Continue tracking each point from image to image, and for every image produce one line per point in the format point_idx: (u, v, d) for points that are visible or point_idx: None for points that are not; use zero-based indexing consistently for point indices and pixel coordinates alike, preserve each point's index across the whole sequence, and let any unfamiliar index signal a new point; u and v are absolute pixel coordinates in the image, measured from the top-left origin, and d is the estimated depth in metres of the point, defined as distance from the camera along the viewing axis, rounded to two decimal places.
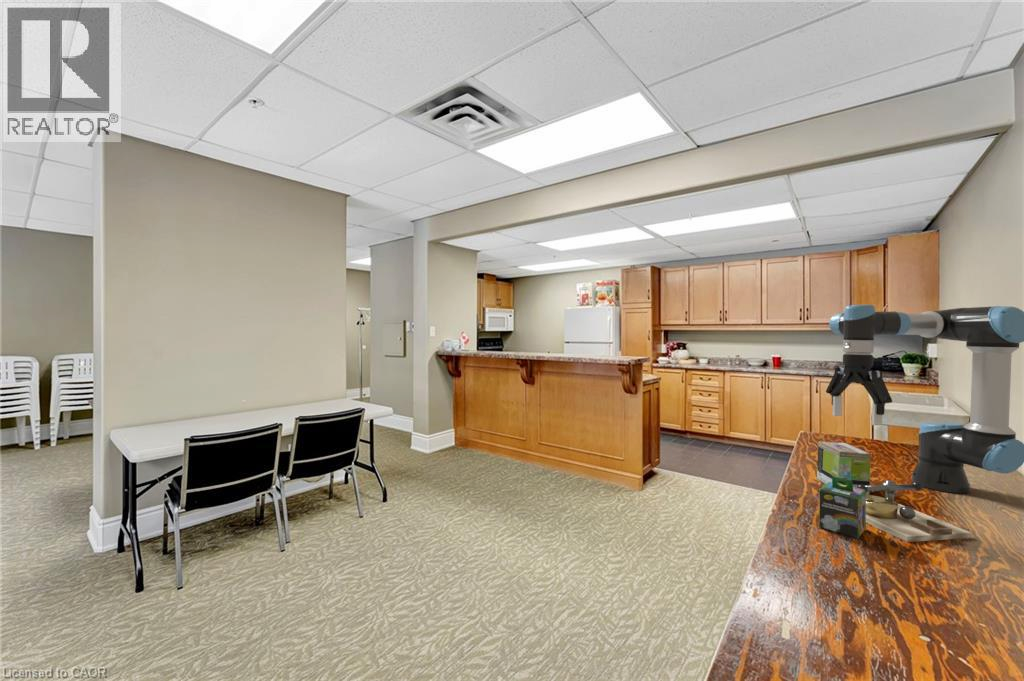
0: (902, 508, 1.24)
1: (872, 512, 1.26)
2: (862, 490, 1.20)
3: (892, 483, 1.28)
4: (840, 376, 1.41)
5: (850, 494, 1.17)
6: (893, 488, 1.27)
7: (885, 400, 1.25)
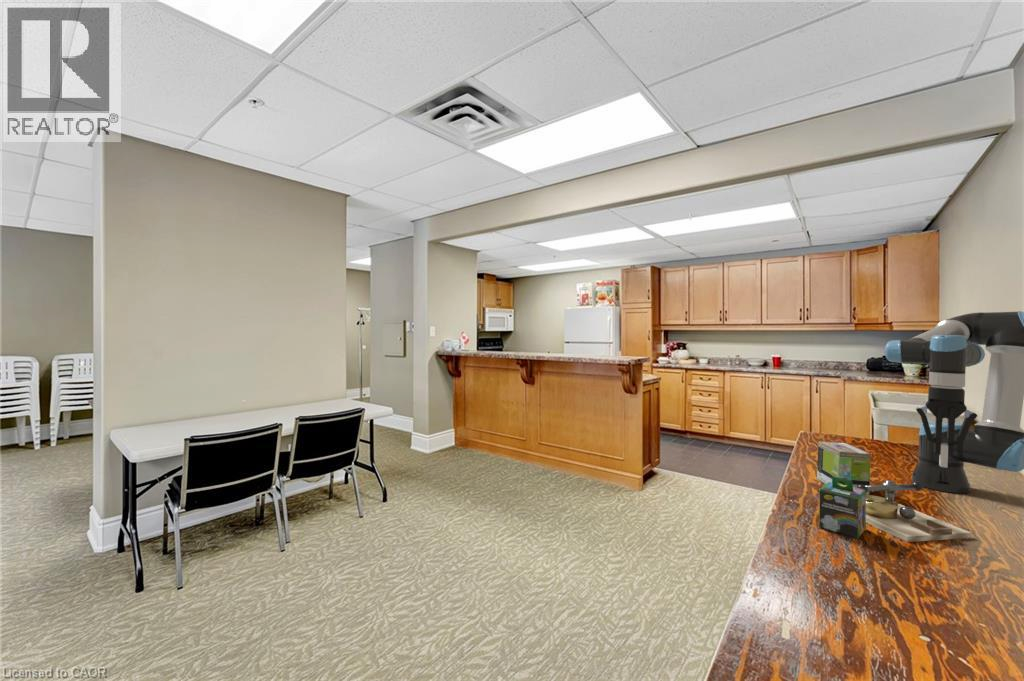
0: (902, 508, 1.24)
1: (872, 512, 1.26)
2: (862, 490, 1.20)
3: (892, 483, 1.28)
4: (964, 420, 1.23)
5: (850, 494, 1.17)
6: (893, 488, 1.27)
7: None
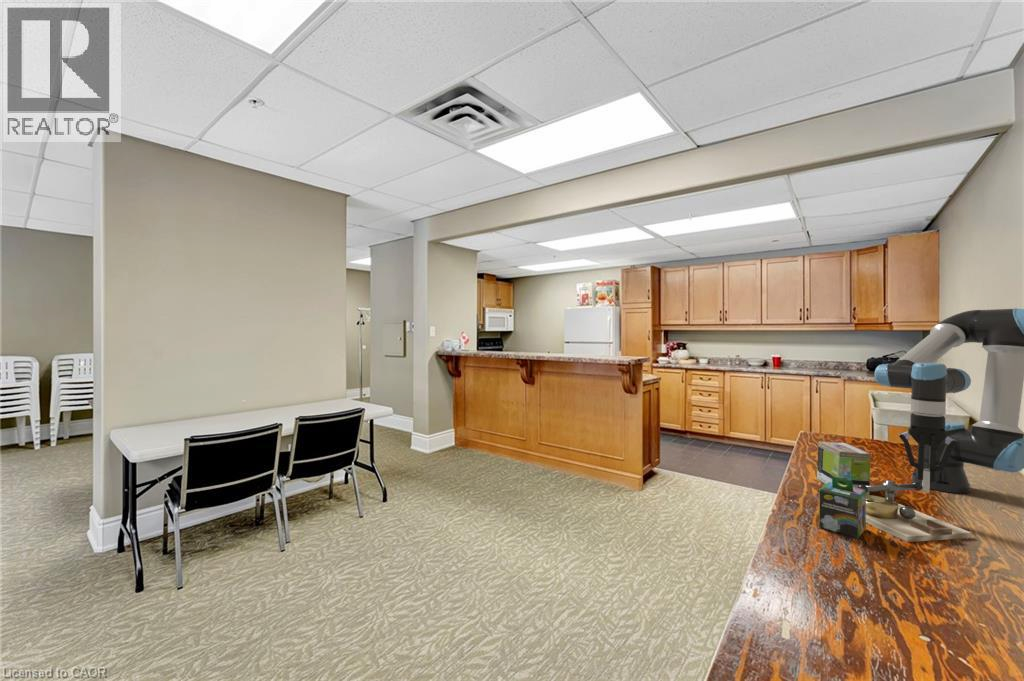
0: (902, 508, 1.24)
1: (873, 512, 1.26)
2: (862, 490, 1.20)
3: (892, 483, 1.28)
4: (945, 447, 1.26)
5: (850, 494, 1.17)
6: (893, 488, 1.27)
7: None
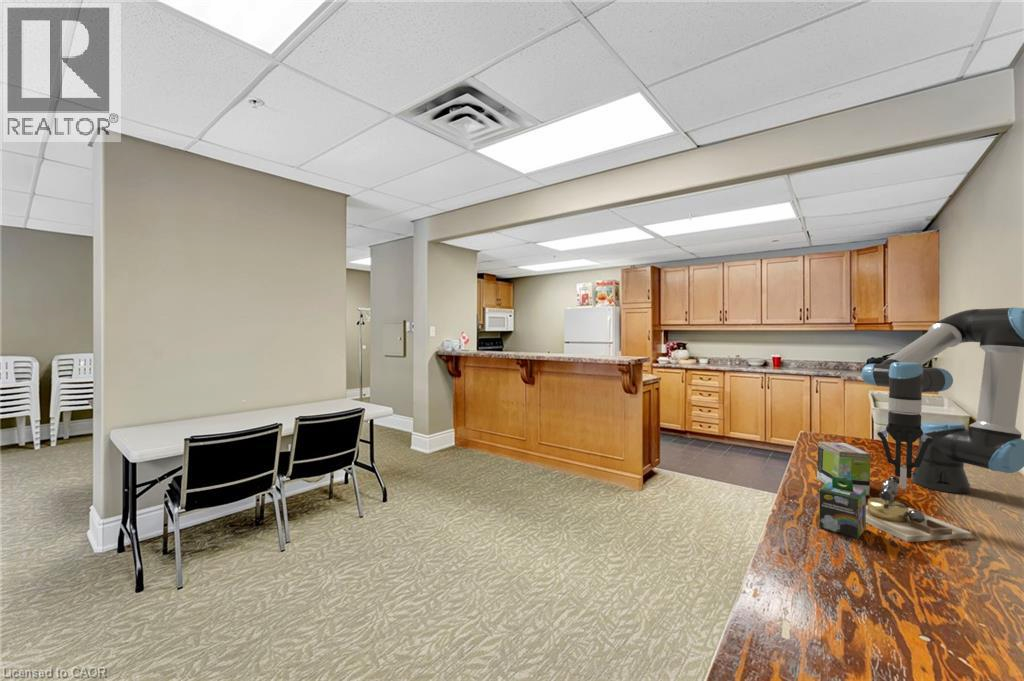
0: (911, 512, 1.22)
1: (895, 518, 1.22)
2: (862, 490, 1.20)
3: (894, 483, 1.28)
4: (921, 444, 1.30)
5: (850, 494, 1.17)
6: (896, 488, 1.27)
7: None
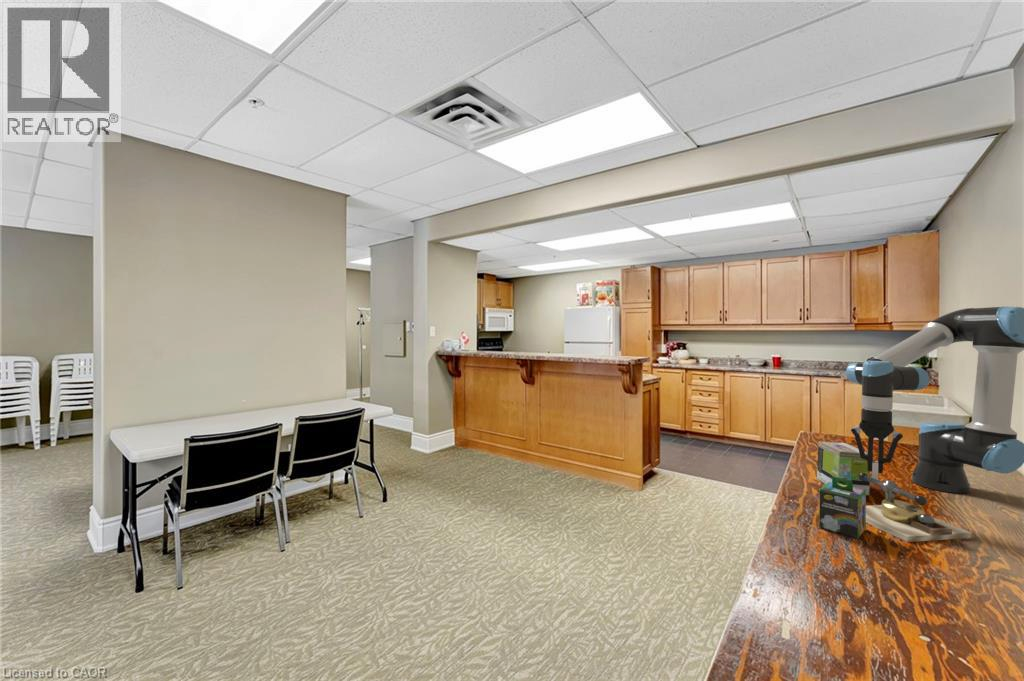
0: (921, 516, 1.19)
1: None
2: (862, 490, 1.20)
3: None
4: (892, 440, 1.34)
5: (850, 494, 1.17)
6: None
7: None
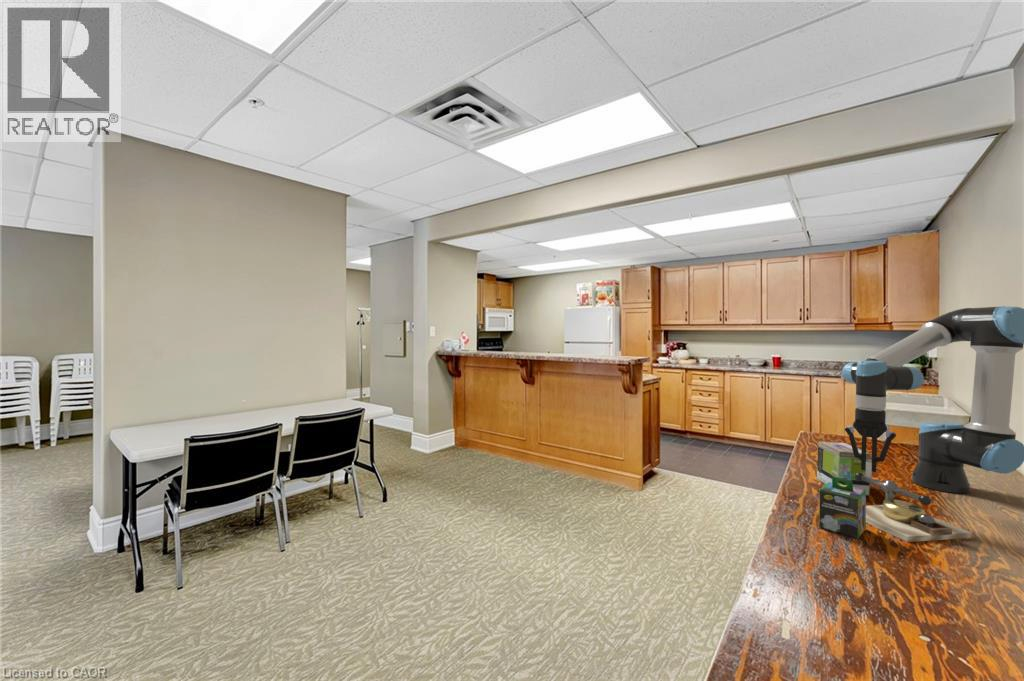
0: (921, 516, 1.19)
1: None
2: (862, 490, 1.20)
3: None
4: None
5: (850, 494, 1.17)
6: None
7: None
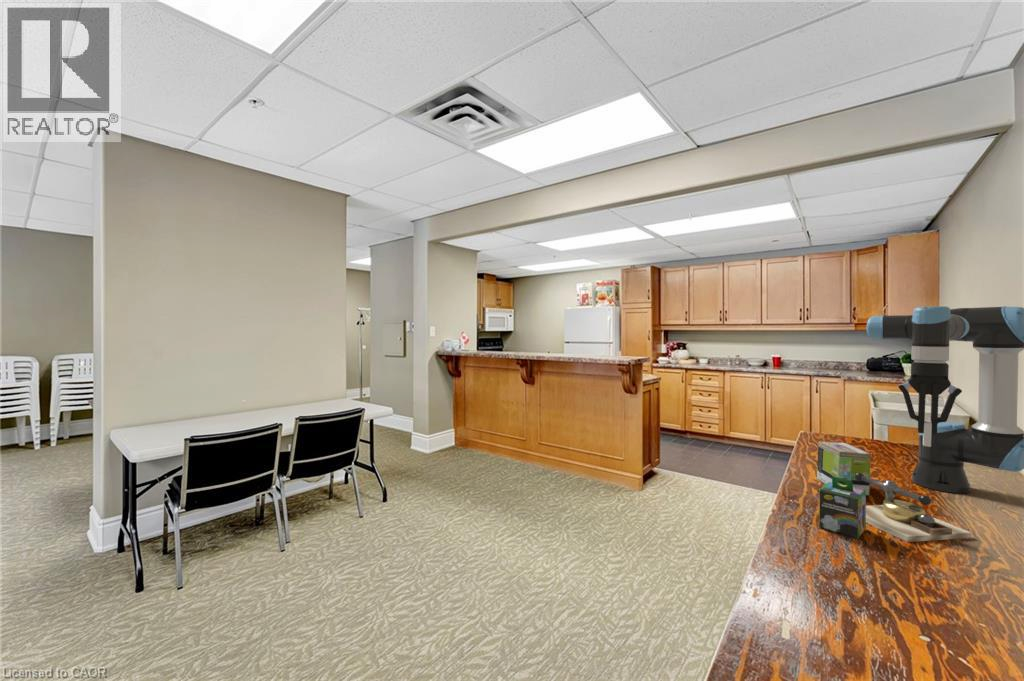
0: (921, 516, 1.19)
1: None
2: (862, 490, 1.20)
3: None
4: (948, 396, 1.17)
5: (850, 494, 1.17)
6: None
7: None
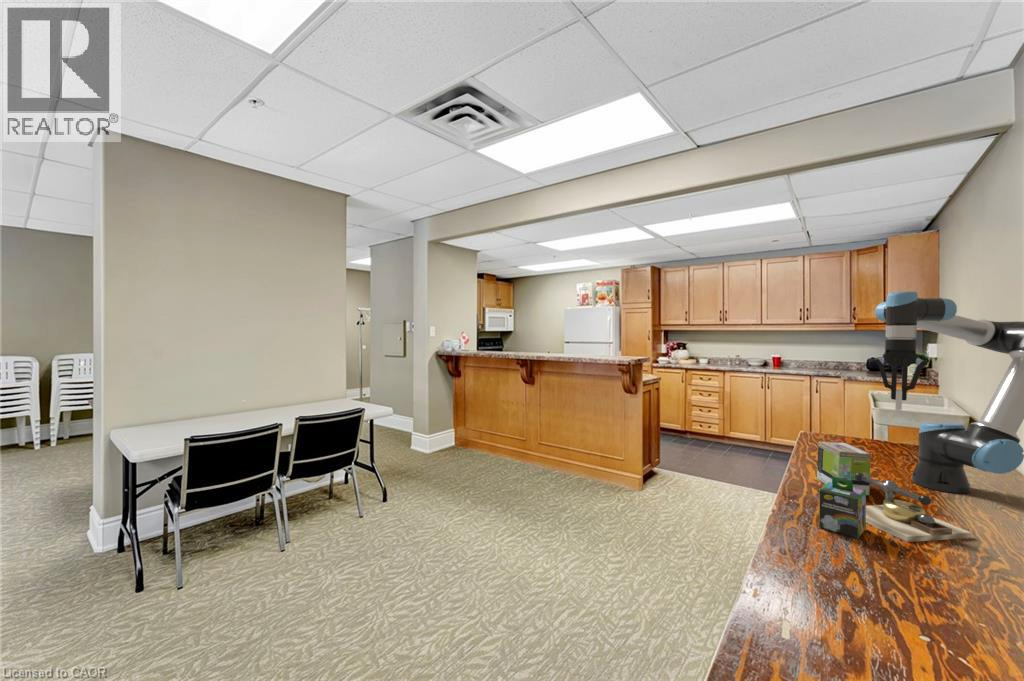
0: (921, 516, 1.19)
1: None
2: (862, 490, 1.20)
3: None
4: (916, 368, 1.38)
5: (850, 494, 1.17)
6: None
7: None
